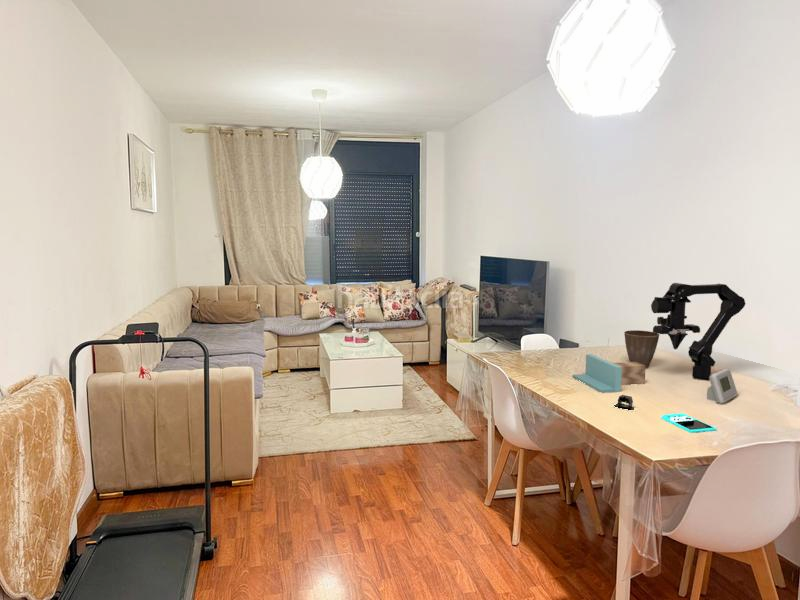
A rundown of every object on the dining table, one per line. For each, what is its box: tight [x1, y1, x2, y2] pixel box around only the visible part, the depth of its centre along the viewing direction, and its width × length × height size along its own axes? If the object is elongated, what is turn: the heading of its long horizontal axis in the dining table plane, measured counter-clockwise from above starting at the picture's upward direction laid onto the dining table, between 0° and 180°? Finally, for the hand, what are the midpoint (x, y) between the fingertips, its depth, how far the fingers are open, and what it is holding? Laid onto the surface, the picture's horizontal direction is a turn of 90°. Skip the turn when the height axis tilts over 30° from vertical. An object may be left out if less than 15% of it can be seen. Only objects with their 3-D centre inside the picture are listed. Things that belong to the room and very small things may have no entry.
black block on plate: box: [614, 394, 635, 411], centre depth 207 cm, size 12×7×5 cm, turn 46°
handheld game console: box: [661, 412, 718, 434], centre depth 190 cm, size 10×16×1 cm, turn 12°
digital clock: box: [706, 368, 738, 405], centre depth 216 cm, size 16×9×11 cm, turn 120°
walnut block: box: [612, 361, 647, 386], centre depth 239 cm, size 16×7×8 cm, turn 101°
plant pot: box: [624, 329, 660, 369], centre depth 266 cm, size 15×15×16 cm
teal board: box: [571, 353, 622, 394], centre depth 237 cm, size 8×24×10 cm, turn 10°
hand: (675, 349), depth 244 cm, fingers closed
